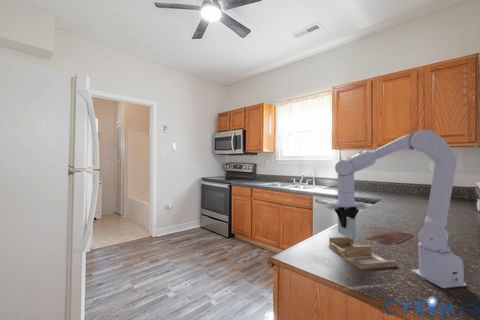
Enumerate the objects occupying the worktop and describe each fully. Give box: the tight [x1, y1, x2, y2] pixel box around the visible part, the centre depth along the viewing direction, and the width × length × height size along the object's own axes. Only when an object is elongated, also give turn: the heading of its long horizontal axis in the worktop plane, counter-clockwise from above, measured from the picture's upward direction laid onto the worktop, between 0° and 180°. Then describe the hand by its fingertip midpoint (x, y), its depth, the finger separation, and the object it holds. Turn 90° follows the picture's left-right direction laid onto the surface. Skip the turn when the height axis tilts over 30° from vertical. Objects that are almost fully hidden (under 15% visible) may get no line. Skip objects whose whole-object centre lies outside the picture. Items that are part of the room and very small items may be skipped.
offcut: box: [348, 241, 361, 246], centre depth 87 cm, size 4×3×2 cm
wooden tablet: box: [366, 231, 414, 246], centre depth 99 cm, size 26×2×10 cm
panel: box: [337, 216, 357, 240], centre depth 83 cm, size 8×2×7 cm, turn 9°
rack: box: [326, 235, 398, 270], centre depth 80 cm, size 20×13×4 cm, turn 9°
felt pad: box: [354, 257, 380, 263], centre depth 74 cm, size 6×8×1 cm
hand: (346, 227), depth 83 cm, fingers closed on panel, 2 cm apart
